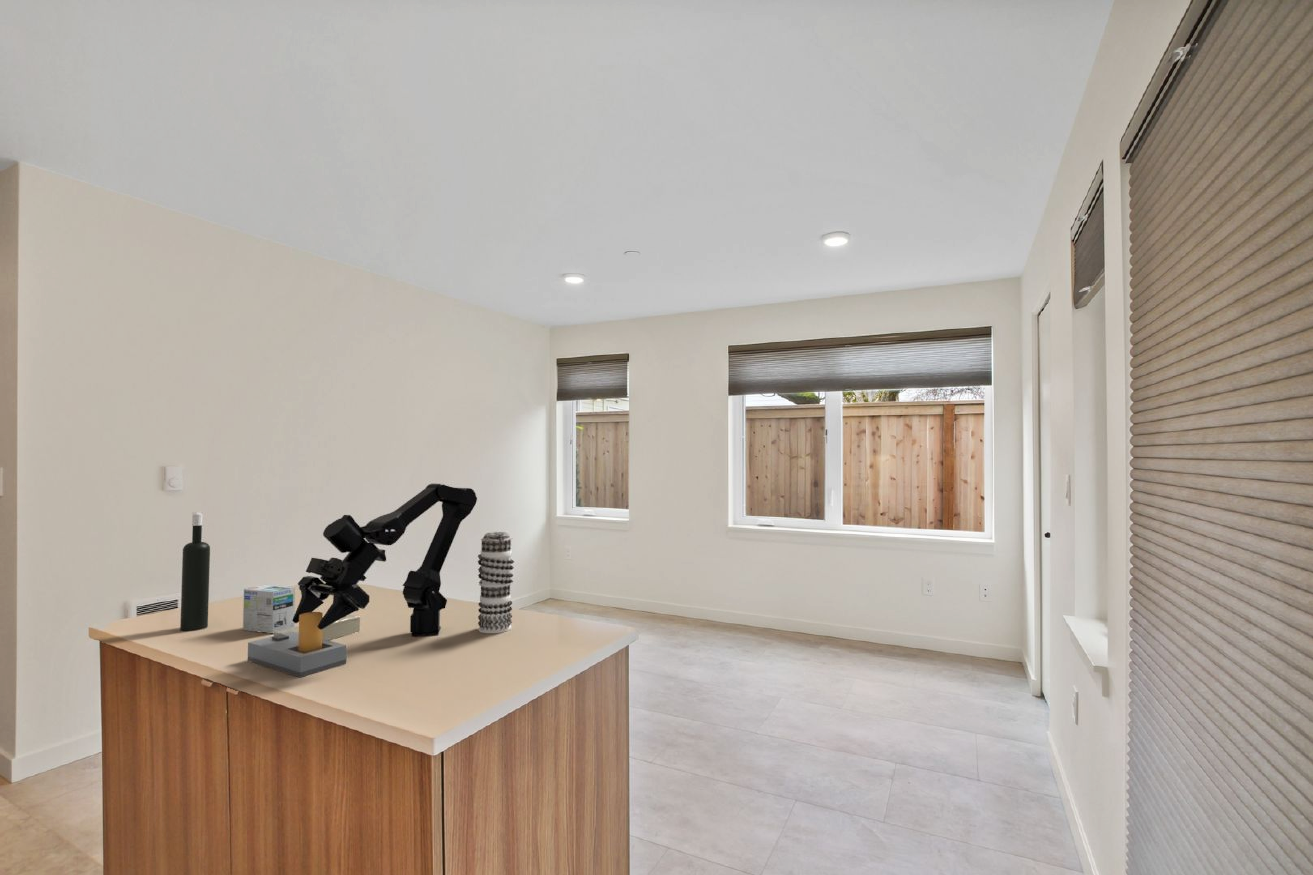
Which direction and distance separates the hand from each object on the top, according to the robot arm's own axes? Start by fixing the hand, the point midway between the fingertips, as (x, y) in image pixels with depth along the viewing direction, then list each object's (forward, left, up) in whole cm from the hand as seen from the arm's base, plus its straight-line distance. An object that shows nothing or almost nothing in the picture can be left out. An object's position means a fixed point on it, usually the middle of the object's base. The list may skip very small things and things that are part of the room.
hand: (306, 625), depth 134 cm
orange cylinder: (-1, -1, -8) cm, 8 cm away
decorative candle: (-39, -23, -9) cm, 46 cm away
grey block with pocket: (+3, -4, -9) cm, 10 cm away
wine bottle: (+37, -40, -9) cm, 55 cm away
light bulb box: (+18, -35, -9) cm, 40 cm away
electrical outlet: (+3, -23, -9) cm, 25 cm away
